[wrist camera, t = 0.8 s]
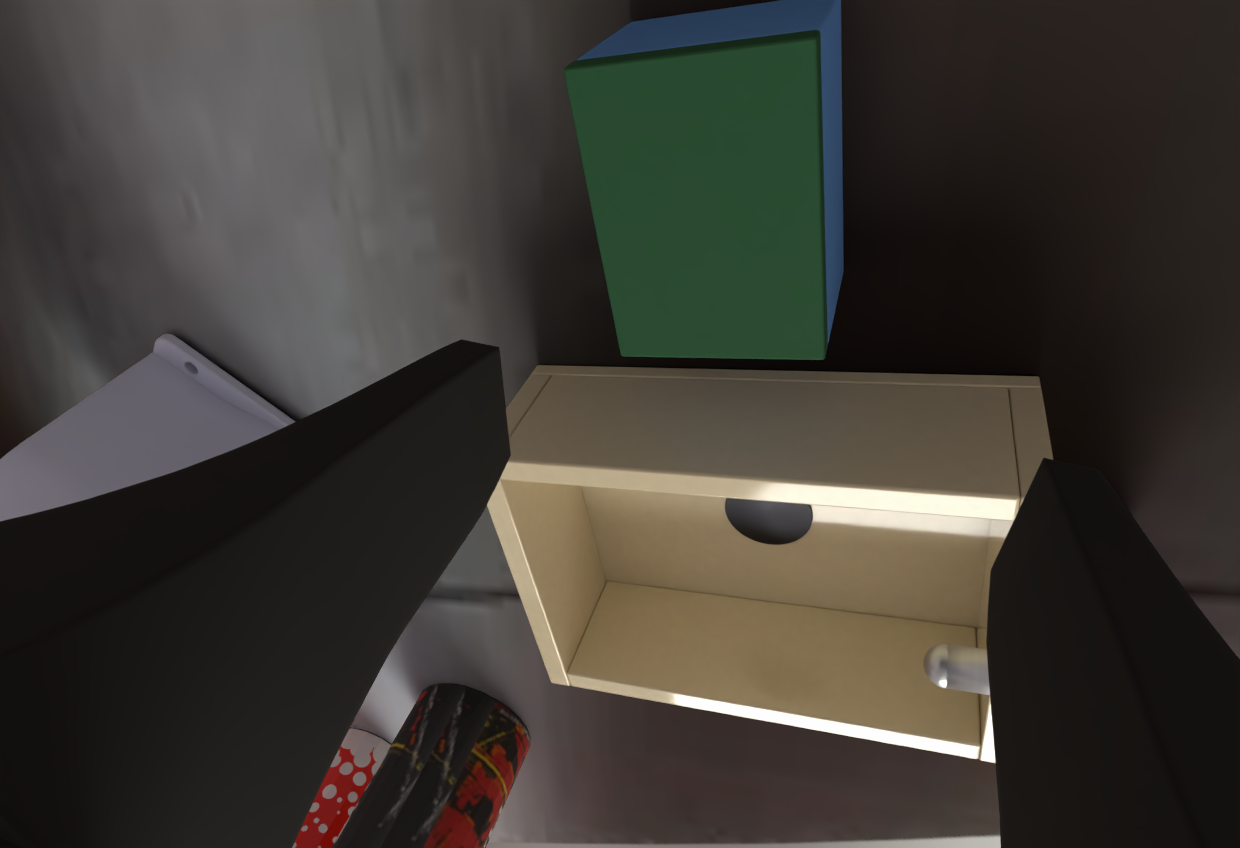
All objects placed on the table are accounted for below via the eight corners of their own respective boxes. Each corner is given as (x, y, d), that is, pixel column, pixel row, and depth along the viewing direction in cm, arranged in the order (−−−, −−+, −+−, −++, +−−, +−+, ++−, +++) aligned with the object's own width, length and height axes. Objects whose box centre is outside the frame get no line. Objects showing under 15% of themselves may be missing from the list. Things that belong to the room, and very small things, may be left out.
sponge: (844, 272, 19) (825, 361, 16) (667, 276, 20) (620, 357, 17) (841, -10, 15) (816, 36, 12) (629, 21, 17) (561, 68, 14)
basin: (596, 580, 29) (550, 683, 25) (536, 364, 23) (468, 457, 20) (998, 631, 24) (1007, 766, 21) (1039, 375, 19) (1060, 500, 15)
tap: (732, 527, 25) (680, 705, 20) (724, 463, 23) (666, 639, 18) (1148, 566, 21) (1211, 800, 16) (1170, 493, 19) (1248, 726, 14)
